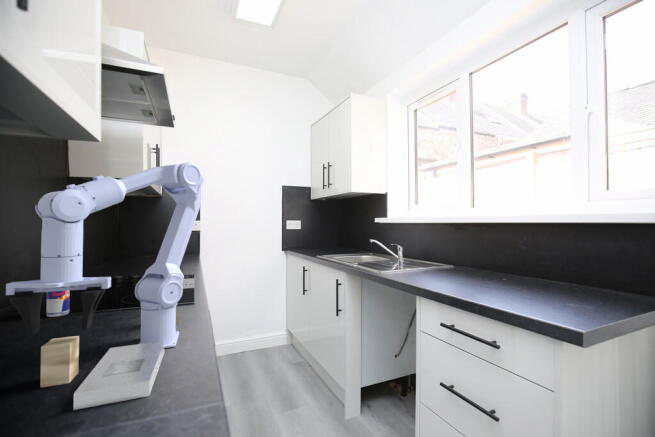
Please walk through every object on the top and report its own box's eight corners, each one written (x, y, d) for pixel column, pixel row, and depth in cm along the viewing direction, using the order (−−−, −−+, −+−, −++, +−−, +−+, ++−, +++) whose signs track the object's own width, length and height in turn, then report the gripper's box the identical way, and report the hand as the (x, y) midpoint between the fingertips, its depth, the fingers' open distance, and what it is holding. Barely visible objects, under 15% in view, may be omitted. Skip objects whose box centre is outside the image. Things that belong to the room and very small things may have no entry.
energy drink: (56, 317, 90) (56, 278, 90) (41, 316, 91) (42, 277, 91) (73, 312, 95) (74, 275, 96) (59, 311, 96) (60, 274, 97)
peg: (51, 376, 55) (52, 338, 55) (78, 372, 56) (79, 335, 57) (40, 387, 51) (41, 346, 51) (69, 383, 53) (69, 343, 53)
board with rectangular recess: (110, 360, 62) (110, 347, 62) (164, 352, 65) (164, 340, 65) (73, 410, 45) (73, 393, 45) (149, 396, 49) (149, 380, 49)
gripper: (-6, 260, 48) (-8, 344, 48) (103, 256, 53) (101, 332, 53) (20, 256, 54) (18, 330, 54) (114, 253, 60) (113, 321, 60)
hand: (61, 330), depth 54 cm, fingers open, 7 cm apart
